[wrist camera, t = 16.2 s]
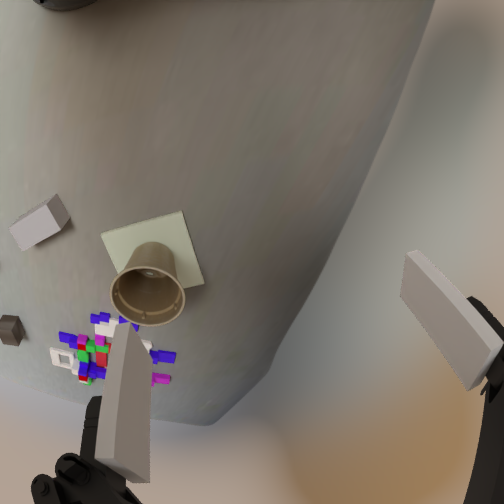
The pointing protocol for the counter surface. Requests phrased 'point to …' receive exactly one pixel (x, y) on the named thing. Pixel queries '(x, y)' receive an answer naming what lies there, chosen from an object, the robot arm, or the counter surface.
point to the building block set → (101, 351)
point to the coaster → (162, 231)
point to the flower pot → (148, 287)
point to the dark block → (11, 330)
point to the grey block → (39, 222)
